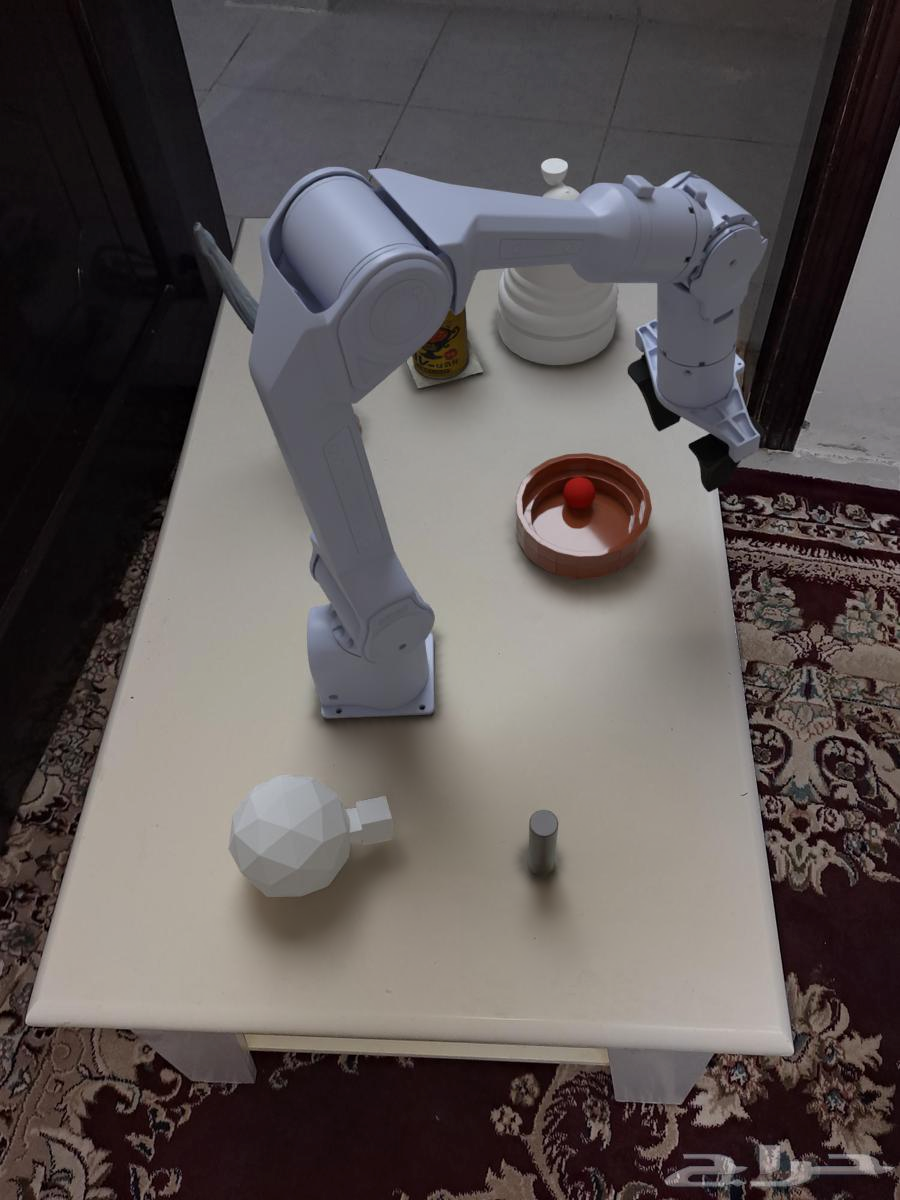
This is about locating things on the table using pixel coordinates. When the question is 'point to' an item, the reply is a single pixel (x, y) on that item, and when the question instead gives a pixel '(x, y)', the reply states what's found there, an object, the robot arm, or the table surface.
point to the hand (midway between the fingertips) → (691, 453)
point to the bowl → (582, 517)
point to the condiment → (445, 354)
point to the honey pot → (555, 302)
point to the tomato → (579, 493)
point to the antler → (229, 281)
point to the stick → (542, 842)
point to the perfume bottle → (300, 834)
